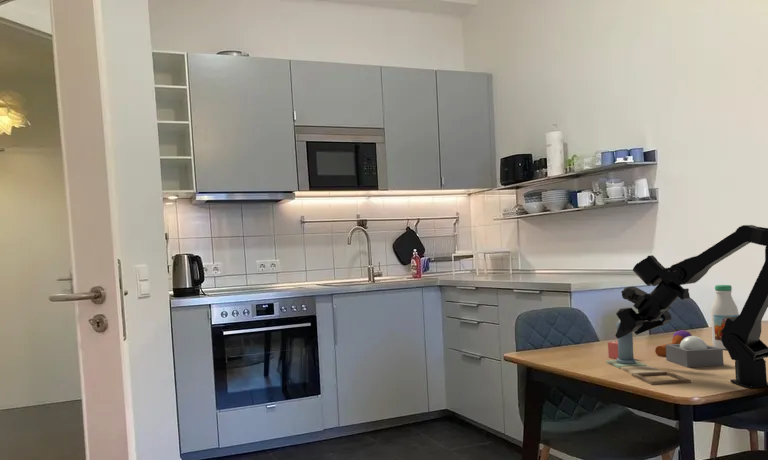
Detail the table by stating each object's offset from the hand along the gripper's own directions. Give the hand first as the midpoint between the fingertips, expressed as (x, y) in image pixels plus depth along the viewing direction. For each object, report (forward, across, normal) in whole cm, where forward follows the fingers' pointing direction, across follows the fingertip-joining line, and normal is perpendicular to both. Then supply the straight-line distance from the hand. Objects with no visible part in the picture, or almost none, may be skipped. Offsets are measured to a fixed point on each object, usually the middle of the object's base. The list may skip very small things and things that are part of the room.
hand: (626, 335), depth 163 cm
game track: (+1, +5, +11) cm, 12 cm away
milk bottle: (+1, -43, +11) cm, 45 cm away
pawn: (+6, 0, +5) cm, 8 cm away
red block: (+11, -8, +1) cm, 14 cm away
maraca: (+7, -28, +5) cm, 29 cm away
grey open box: (-2, -15, +14) cm, 21 cm away
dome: (-2, -15, +13) cm, 20 cm away
